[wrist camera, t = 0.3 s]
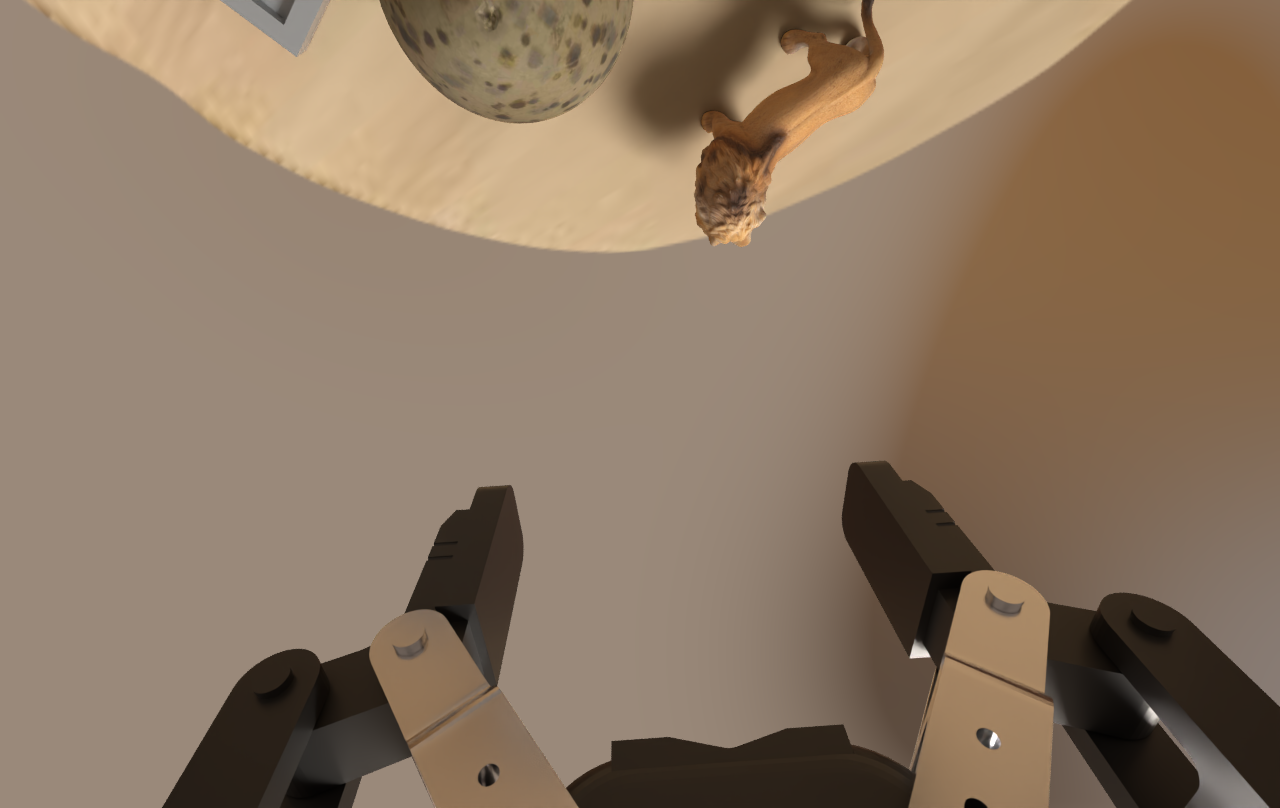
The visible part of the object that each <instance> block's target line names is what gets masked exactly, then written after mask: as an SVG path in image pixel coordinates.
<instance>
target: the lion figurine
mask: <svg viewBox="0 0 1280 808" xmlns="http://www.w3.org/2000/svg"><path fill="white" fill-rule="evenodd" d="M873 3H874V0H862V9H861V17H862V21H863V27H864V30H865V34H866V37H856V38H854V39H852V40H850V41H849V42H848V43H847V44H846V46H845V45H841V44H835V43H830V42H828V41H827V39H826V36H825V34H823V33H814V32H806V31H803V30H798V29H795V30H790V31H788V32H786V33H785V34H784V35H783V37H782V40H781V46H782V48H783V50H784V51H785V53H787V54H793V53H795V52H797V51H798V50H799V49H801V48H803V47H809V49H808V57H807V58H808V62H809V64H810V66H811V72H810V74H809V75H808V76H807V77H806V78H804V79H802V80H800V81H798V82H796V83H794V84H791V85H789V86H787V87H784V88H782V89H780V90H778V91H776V92H774V93H773V94H771V95H770V96H768V97H767V98H766V99H764V100H763V101H762V102H761V103H760V104H759V105H758V106H756V108H755V109H754V110H753V111H752V112H751V113H750V114H749V115H748V116H747V117H746V118H745V120H744V121H743V122H739V121H731V120H729V119H728V118H727V117H726V115H724V114H722V113H720V112H717V111H708V112H706V113H705V114H704V115H703V117H702V121H701V123H702V127H703V129H704V130H706V131H707V133H711V132H713V136H714V140H713V141H712V142H711V143H710V145H709V146H707V147H706V148H705V149H703V150H702V155H701V163H700V164H699V165H698V166H697V168H696V181H695V186H696V190H695V193H694V197H695V201H696V213H695V216H696V220H697V225H698V226H699V227H700V228H702V229H703V232H704V233H705V234H706V235H707V236H708V237H709V241H710V244H711V245H713V246H716V245H718V244H719V243H723V244H727V243H728V242H730V241H731V242H732V243H734V244H736V245H738V246H740V247H742V246H746V245H748V244H749V243H750V241H751V237H750V236H751V231H752V230H753V228H757V227H758V226H759V225H760V224H761V222H762V221H763V220H764V219H765V218H766V213H765V212H764V211H763V208H764V205H765V201H766V191H767V189H768V185H769V184H770V183H771V173H772V172H773V170H774V168H775V164H776V163H777V162H778V161H779V160H781V159H782V158H783V157H785V156H786V155H787V154H789V153H790V152H792V151H793V150H794V149H795V148H796V147H798V146H799V145H800V144H801V143H802V142H803V141H805V140H806V139H807V138H808V137H809V136H810V135H811V134H812V133H813V132H814V131H815V130H816V129H817V128H819V127H820V126H821V125H823V124H824V123H826V122H828V121H829V120H832V119H834V118H837V117H840V116H843V115H846V114H848V113H851V112H853V111H855V110H856V109H858V108H859V107H860V106H861V105H862V104H863V103H864V102H865V101H866V100H867V99H868V98H869V96H870V95H871V94H872V93H873V91H874V89H875V86H876V81H875V77H876V76H877V74H878V72H879V71H880V68H881V66H882V63H883V58H884V49H883V45H882V41H881V39H880V37H879V35H878V32H877V30H876V28H875V26H874V24H873V20H872V6H873Z"/></svg>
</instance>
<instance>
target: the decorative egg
mask: <svg viewBox="0 0 1280 808" xmlns="http://www.w3.org/2000/svg"><path fill="white" fill-rule="evenodd" d="M380 3H381V7H382V9H383V12H384V14H385V17H386V19H387V21H388V24H389V26H390V28H391V30H392V32H393V34H394V36H395V37H396V39H397V41H398V43H399V45H400V46H401V48H402V49H403V51H404V52H405V54H406V55H407V57H408V58H409V60H410V61H411V62H412V64H413V65H414V66H415V67H416V69H417V70H418V71H419V72H420V73H421V75H422V76H423V77H424V78H425V79H426V80H427V81H428V82H429V83H430V84H431V85H432V86H433V87H435V88H436V89H437V90H438V91H439V92H440V93H442V94H443V95H444V96H445V97H447V98H448V99H450V100H451V101H453V102H454V103H456V104H457V105H459V106H461V107H462V108H464V109H466V110H468V111H470V112H472V113H475V114H477V115H480V116H482V117H485V118H489V119H492V120H496V121H501V122H507V123H533V122H539V121H544V120H548V119H551V118H554V117H557V116H559V115H561V114H564V113H566V112H568V111H570V110H572V109H573V108H575V107H576V106H578V105H579V104H581V103H582V102H583V101H584V100H586V99H587V98H588V97H589V96H590V95H591V94H593V93H594V91H595V90H596V89H597V88H598V87H599V86H600V85H601V84H602V82H603V81H604V80H605V78H606V77H607V76H608V74H609V73H610V71H611V69H612V68H613V66H614V64H615V62H616V60H617V58H618V56H619V54H620V52H621V50H622V47H623V44H624V41H625V39H626V35H627V32H628V28H629V24H630V19H631V14H632V7H633V0H380Z"/></svg>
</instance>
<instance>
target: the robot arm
mask: <svg viewBox="0 0 1280 808" xmlns="http://www.w3.org/2000/svg"><path fill="white" fill-rule="evenodd" d="M842 526H843V531H844V534H845V538H846V540H847V542H848V544H849V546H850V548H851V550H852V552H853V553H854V555H855V557H856V559H857V561H858V563H859V565H860V566H861V568H862V570H863V572H864V574H865V576H866V578H867V580H868V581H869V583H870V585H871V587H872V589H873V591H874V593H875V594H876V596H877V598H878V600H879V602H880V604H881V606H882V608H883V609H884V611H885V613H886V615H887V617H888V619H889V621H890V623H891V624H892V626H893V628H894V630H895V632H896V634H897V636H898V637H899V639H900V641H901V643H902V645H903V647H904V649H905V651H906V652H907V654H908V656H909V658H921V657H931V658H932V660H933V661H934V663H935V665H936V670H935V673H934V676H933V680H932V685H931V688H930V692H929V696H928V700H927V704H926V708H925V711H924V715H923V719H922V723H921V727H920V731H919V735H918V739H917V742H916V746H915V750H914V754H913V758H912V761H911V765H910V768H909V769H907V768H906V767H904V766H903V765H901V764H899V763H897V762H896V761H894V760H892V759H890V758H889V757H886V756H884V755H882V754H879V753H877V752H875V751H872V750H869V749H866V748H863V747H860V746H856V745H851V744H850V741H849V739H848V736H847V733H846V730H845V728H844V725H830V726H815V727H801V728H787V729H784V730H781V731H779V732H776V733H773V734H770V735H768V736H765V737H762V738H759V739H757V740H754V741H751V742H749V743H746V744H743V745H740V746H738V747H734V748H722V747H717V746H712V745H706V744H702V743H697V742H692V741H686V740H681V739H676V738H671V737H664V738H649V739H635V740H623V741H622V740H621V741H612V751H611V752H612V753H611V755H612V756H611V757H612V758H611V761H609V762H606V763H604V764H601V765H599V766H597V767H595V768H593V769H591V770H590V771H588V772H586V773H585V774H583V775H582V776H580V777H579V778H577V779H576V780H575V781H573V782H572V783H571V784H570V785H569V786H568V787H566V788H565V786H564V785H563V783H562V782H561V780H560V779H559V778H558V776H557V774H556V773H555V771H554V770H553V768H552V767H551V765H550V764H549V762H548V760H547V759H546V757H545V756H544V754H543V753H542V751H541V750H540V748H539V747H538V745H537V744H536V742H535V741H534V739H533V738H532V736H531V735H530V733H529V732H528V730H527V729H526V727H525V726H524V724H523V723H522V721H521V720H520V718H519V717H518V715H517V714H516V712H515V710H514V709H513V707H512V706H511V705H510V703H509V701H508V700H507V698H506V697H505V695H504V694H503V693H502V691H501V690H500V689H499V688H498V686H497V684H498V680H499V675H500V669H501V665H502V660H503V655H504V650H505V645H506V640H507V636H508V631H509V626H510V620H511V616H512V611H513V605H514V601H515V596H516V592H517V587H518V581H519V576H520V572H521V567H522V561H523V535H522V530H521V525H520V520H519V515H518V511H517V505H516V500H515V496H514V491H513V488H512V486H511V485H505V486H490V487H479V488H478V489H477V491H476V493H475V496H474V499H473V502H472V505H471V507H470V509H469V510H456V511H455V512H454V513H453V514H452V515H451V516H450V517H449V518H448V519H447V520H446V521H445V523H443V524H442V525H441V528H440V530H439V532H438V534H437V537H436V539H435V542H434V546H433V547H432V549H431V552H430V554H429V556H428V561H426V563H425V566H424V568H423V570H422V573H421V575H420V578H419V580H418V582H417V585H416V587H415V590H414V592H413V594H412V597H411V599H410V602H409V604H408V606H407V609H406V611H405V613H404V614H403V615H401V616H399V617H397V618H395V619H394V620H392V621H391V622H389V623H388V624H387V625H385V626H384V627H383V628H382V629H381V630H380V631H379V633H378V634H377V635H376V637H375V638H374V640H373V642H372V644H371V646H369V647H367V648H365V649H363V650H360V651H358V652H354V653H351V654H348V655H345V656H343V657H340V658H337V659H334V660H331V661H328V662H325V663H322V664H321V663H320V661H319V659H318V657H317V656H316V655H315V654H314V653H313V652H311V651H309V650H305V649H292V650H286V651H283V652H280V653H277V654H274V655H272V656H270V657H268V658H266V659H264V660H263V661H261V662H260V663H258V664H256V665H255V666H254V667H253V668H251V669H250V670H249V671H248V672H247V673H246V674H245V675H244V676H243V677H242V678H241V679H240V680H239V681H238V682H237V684H236V685H235V687H234V688H233V690H232V692H231V693H230V695H229V696H228V698H227V700H226V701H225V703H224V705H223V706H222V708H221V710H220V711H219V713H218V715H217V716H216V718H215V720H214V721H213V723H212V725H211V726H210V728H209V730H208V731H207V733H206V735H205V737H204V738H203V740H202V741H201V743H200V745H199V747H198V748H197V750H196V752H195V753H194V755H193V757H192V758H191V760H190V762H189V763H188V765H187V767H186V768H185V770H184V772H183V773H182V775H181V777H180V778H179V780H178V782H177V783H176V785H175V787H174V789H173V790H172V792H171V794H170V795H169V797H168V799H167V800H166V802H165V804H164V805H163V807H162V808H352V805H353V802H354V799H355V796H356V793H357V790H358V787H359V784H360V781H361V778H362V776H364V775H366V774H368V773H371V772H374V771H376V770H379V769H381V768H384V767H386V766H389V765H391V764H394V763H396V762H399V761H401V760H404V759H406V758H409V757H411V756H412V758H413V760H414V763H415V765H416V767H417V769H418V772H419V774H420V776H421V778H422V781H423V783H424V785H425V787H426V789H427V792H428V794H429V796H430V799H431V801H432V803H433V805H434V808H1049V789H1050V771H1051V752H1052V733H1053V732H1052V731H1053V723H1058V724H1062V726H1063V727H1064V729H1065V730H1066V732H1067V733H1068V735H1069V736H1070V738H1071V739H1072V741H1073V743H1074V744H1075V745H1076V747H1077V749H1078V750H1079V752H1080V753H1081V755H1082V756H1083V758H1084V759H1085V761H1086V762H1087V764H1088V765H1089V767H1090V768H1091V769H1092V771H1093V773H1094V774H1095V776H1096V777H1097V779H1098V780H1099V782H1100V783H1101V785H1102V786H1103V788H1104V790H1105V791H1106V793H1107V794H1108V796H1109V797H1110V798H1111V800H1112V802H1113V803H1114V805H1115V806H1116V808H1280V707H1279V706H1278V705H1277V704H1276V703H1275V702H1274V701H1273V700H1272V699H1271V698H1270V697H1269V696H1268V695H1267V694H1266V693H1265V692H1264V691H1263V690H1262V689H1260V687H1259V686H1258V685H1256V684H1255V683H1254V682H1253V681H1252V680H1251V679H1250V678H1249V677H1248V676H1247V675H1246V674H1245V673H1244V672H1243V671H1242V670H1241V669H1240V668H1239V667H1238V666H1237V665H1236V664H1235V663H1234V662H1233V661H1231V660H1230V659H1229V658H1228V657H1227V656H1226V655H1225V654H1224V653H1223V652H1222V651H1221V650H1220V649H1219V648H1218V647H1217V646H1216V645H1215V644H1214V643H1213V642H1212V641H1211V640H1210V639H1209V638H1208V637H1206V636H1205V635H1204V634H1203V633H1202V632H1201V631H1200V630H1199V629H1198V628H1197V627H1196V626H1195V625H1194V624H1193V623H1192V622H1191V621H1189V620H1188V619H1187V618H1186V617H1185V616H1183V615H1182V614H1180V613H1179V612H1178V611H1176V610H1174V609H1173V608H1171V607H1169V606H1167V605H1165V604H1163V603H1161V602H1159V601H1156V600H1154V599H1151V598H1148V597H1145V596H1141V595H1137V594H1131V593H1114V594H1110V595H1108V596H1106V597H1104V598H1103V600H1102V601H1101V603H1100V605H1099V607H1098V609H1097V611H1092V610H1086V609H1080V608H1075V607H1069V606H1063V605H1058V604H1053V603H1048V602H1046V601H1045V599H1044V598H1043V596H1042V595H1041V594H1040V593H1039V592H1037V590H1035V589H1034V588H1033V587H1032V586H1030V585H1029V584H1027V583H1026V582H1024V581H1022V580H1021V579H1018V578H1016V577H1014V576H1011V575H1009V574H1006V573H1002V572H998V571H995V570H994V569H993V568H992V567H991V566H990V564H989V563H988V562H987V561H986V559H985V558H984V557H983V556H982V555H981V553H980V552H979V551H978V550H977V549H976V547H975V546H974V545H973V544H972V543H971V541H970V540H969V539H968V538H967V536H966V535H965V534H964V533H963V532H962V530H961V529H960V528H959V527H958V526H957V525H955V522H954V520H953V519H952V518H951V517H950V516H949V514H948V513H947V512H944V508H943V507H942V506H941V505H940V503H939V502H938V501H937V500H936V499H935V497H934V496H933V495H932V494H931V493H930V492H928V491H927V490H925V489H924V488H922V487H921V486H919V485H918V484H916V483H915V482H913V481H911V480H908V481H902V480H901V479H900V477H899V476H898V474H897V473H896V472H895V470H894V469H893V468H892V467H891V465H890V464H889V463H888V462H887V461H873V462H857V463H852V464H851V465H850V468H849V471H848V478H847V485H846V491H845V498H844V504H843V511H842ZM1159 720H1161V721H1162V722H1163V723H1164V724H1165V726H1166V727H1167V728H1168V729H1169V730H1170V732H1171V733H1172V734H1173V735H1174V737H1175V738H1176V739H1177V740H1178V741H1179V743H1180V744H1181V745H1182V746H1183V747H1184V749H1185V750H1186V751H1187V753H1188V754H1189V755H1190V757H1191V758H1192V760H1193V762H1194V764H1195V766H1196V768H1197V770H1196V769H1195V767H1194V766H1193V765H1192V764H1191V763H1190V761H1189V760H1188V759H1187V758H1186V757H1185V755H1184V754H1183V753H1182V752H1181V750H1180V749H1179V748H1178V747H1177V745H1176V744H1175V743H1174V742H1173V741H1172V739H1171V738H1170V737H1169V736H1168V735H1167V733H1166V732H1165V731H1164V730H1163V728H1162V727H1161V726H1160V725H1159V724H1158V722H1159Z"/></svg>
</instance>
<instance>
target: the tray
mask: <svg viewBox="0 0 1280 808" xmlns="http://www.w3.org/2000/svg"><path fill="white" fill-rule="evenodd" d="M221 1H222V2H223V3H225V4H226V5H228V6H229V7H230V8H232V9H233V10H234V11H236V12H237V13H238V14H240V15H241V16H242V17H244V18H245V19H246V20H248V21H249V22H250V23H252V24H253V25H254V26H256V27H257V28H258V29H260V30H261V31H262V32H264V33H265V34H266V35H268V36H269V37H271V38H272V39H273V40H275V41H276V42H277V43H279V44H280V45H281V46H283V47H284V48H285V49H287V50H288V51H289V52H291V53H292V54H293V55H295V56H296V57H297V56H299V55H300V54H301V53H303V52H304V51H306V50H307V48H308V45H309V43H310V41H311V39H312V37H313V35H314V33H315V31H316V29H317V27H318V24H319V22H320V20H321V18H322V16H323V14H324V12H325V10H326V8H327V6H328V4H329V1H330V0H221Z"/></svg>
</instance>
